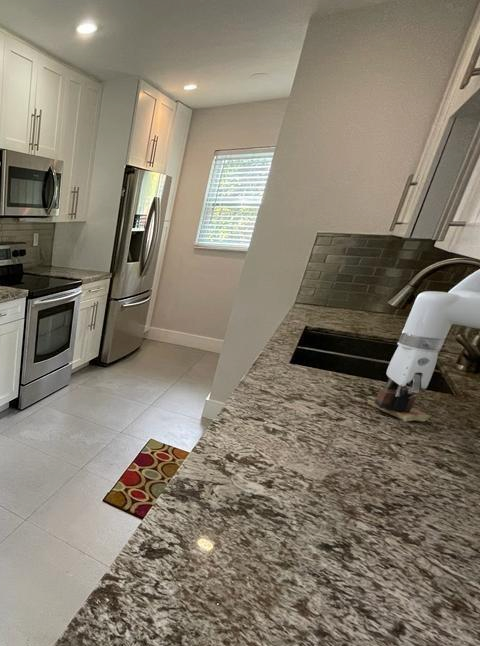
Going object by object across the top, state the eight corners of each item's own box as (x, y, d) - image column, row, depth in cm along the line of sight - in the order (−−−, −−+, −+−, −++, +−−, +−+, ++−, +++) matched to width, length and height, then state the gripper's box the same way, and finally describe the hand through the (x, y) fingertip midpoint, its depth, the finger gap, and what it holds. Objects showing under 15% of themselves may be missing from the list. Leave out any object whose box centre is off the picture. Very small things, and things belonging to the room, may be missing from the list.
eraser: (403, 407, 109) (410, 391, 108) (409, 412, 106) (416, 396, 105) (374, 402, 112) (380, 387, 110) (379, 407, 109) (386, 392, 107)
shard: (364, 403, 116) (366, 397, 115) (390, 403, 116) (393, 397, 115) (403, 421, 106) (406, 415, 105) (432, 421, 106) (435, 415, 105)
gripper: (460, 353, 94) (426, 423, 101) (423, 335, 108) (395, 398, 115) (417, 348, 97) (387, 417, 104) (386, 331, 111) (361, 393, 118)
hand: (391, 406), depth 109 cm, fingers closed on eraser, 3 cm apart
